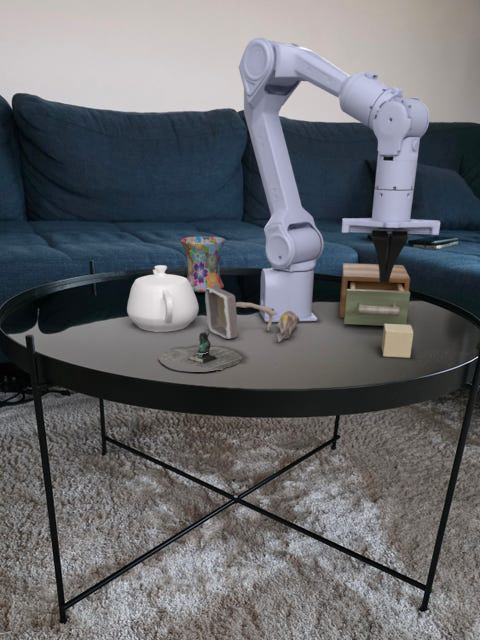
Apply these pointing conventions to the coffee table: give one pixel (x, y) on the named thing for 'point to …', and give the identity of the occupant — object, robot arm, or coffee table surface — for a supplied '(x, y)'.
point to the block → (397, 340)
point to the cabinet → (368, 278)
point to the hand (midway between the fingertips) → (384, 280)
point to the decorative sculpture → (225, 315)
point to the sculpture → (204, 355)
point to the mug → (203, 262)
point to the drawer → (376, 303)
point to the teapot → (162, 302)
